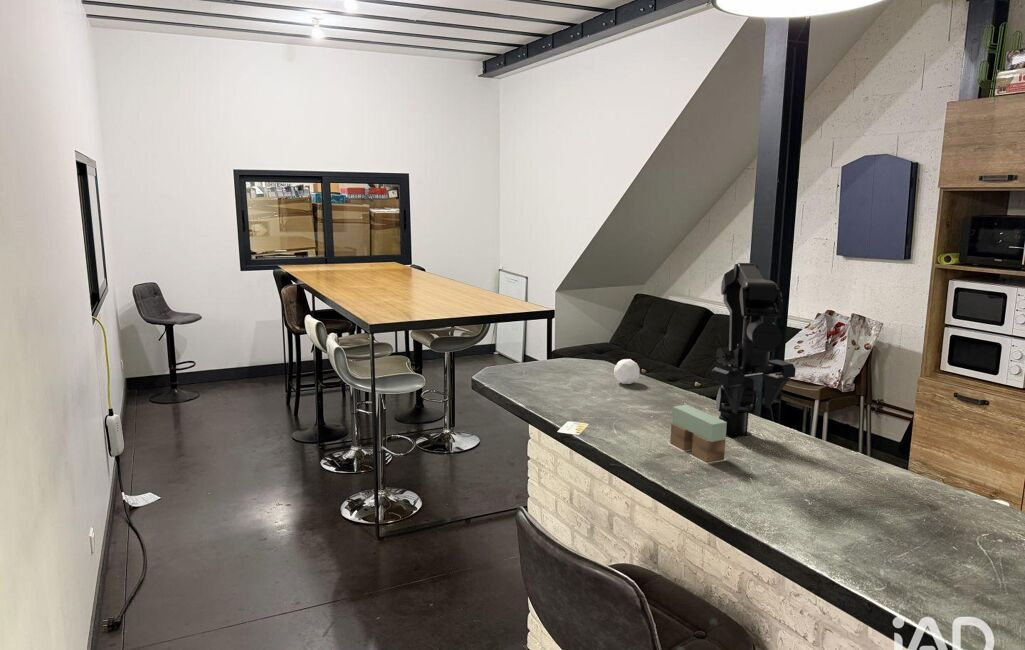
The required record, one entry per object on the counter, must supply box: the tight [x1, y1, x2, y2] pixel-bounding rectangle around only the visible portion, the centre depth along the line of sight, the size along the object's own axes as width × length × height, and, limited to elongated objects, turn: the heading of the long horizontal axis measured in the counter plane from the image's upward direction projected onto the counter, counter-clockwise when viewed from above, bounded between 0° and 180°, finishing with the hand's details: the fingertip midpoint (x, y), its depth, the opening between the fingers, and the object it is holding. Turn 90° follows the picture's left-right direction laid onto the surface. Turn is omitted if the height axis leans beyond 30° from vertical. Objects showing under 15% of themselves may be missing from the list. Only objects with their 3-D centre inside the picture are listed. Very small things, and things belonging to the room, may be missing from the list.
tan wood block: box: [691, 434, 726, 463], centre depth 156 cm, size 5×5×5 cm
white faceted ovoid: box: [613, 358, 640, 385], centre depth 220 cm, size 8×8×12 cm
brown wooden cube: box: [669, 423, 694, 451], centre depth 163 cm, size 5×5×5 cm
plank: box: [671, 404, 727, 442], centre depth 159 cm, size 4×14×4 cm, turn 24°
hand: (751, 410), depth 151 cm, fingers open, 9 cm apart
